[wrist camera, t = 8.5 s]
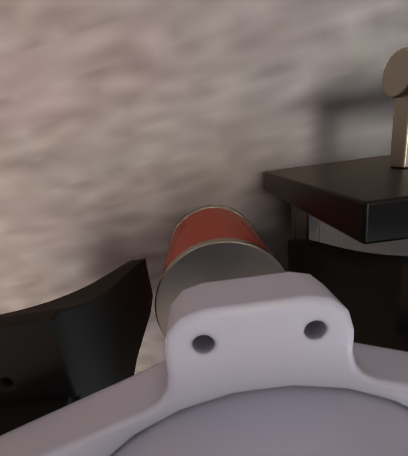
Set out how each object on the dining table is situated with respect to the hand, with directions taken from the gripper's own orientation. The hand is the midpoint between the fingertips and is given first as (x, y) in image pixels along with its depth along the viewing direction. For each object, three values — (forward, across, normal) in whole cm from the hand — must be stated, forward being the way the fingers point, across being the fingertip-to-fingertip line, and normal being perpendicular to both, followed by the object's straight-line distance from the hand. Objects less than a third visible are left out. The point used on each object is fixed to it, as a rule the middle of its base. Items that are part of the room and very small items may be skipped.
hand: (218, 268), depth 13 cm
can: (+3, 0, 0) cm, 3 cm away
